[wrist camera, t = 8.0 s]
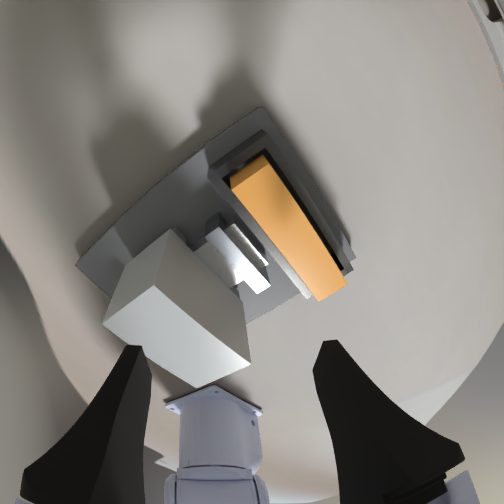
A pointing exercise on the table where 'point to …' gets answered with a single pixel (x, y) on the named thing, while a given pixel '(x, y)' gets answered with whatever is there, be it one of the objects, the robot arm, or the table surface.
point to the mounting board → (204, 216)
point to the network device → (492, 33)
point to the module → (179, 313)
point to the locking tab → (287, 226)
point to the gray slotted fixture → (254, 225)
